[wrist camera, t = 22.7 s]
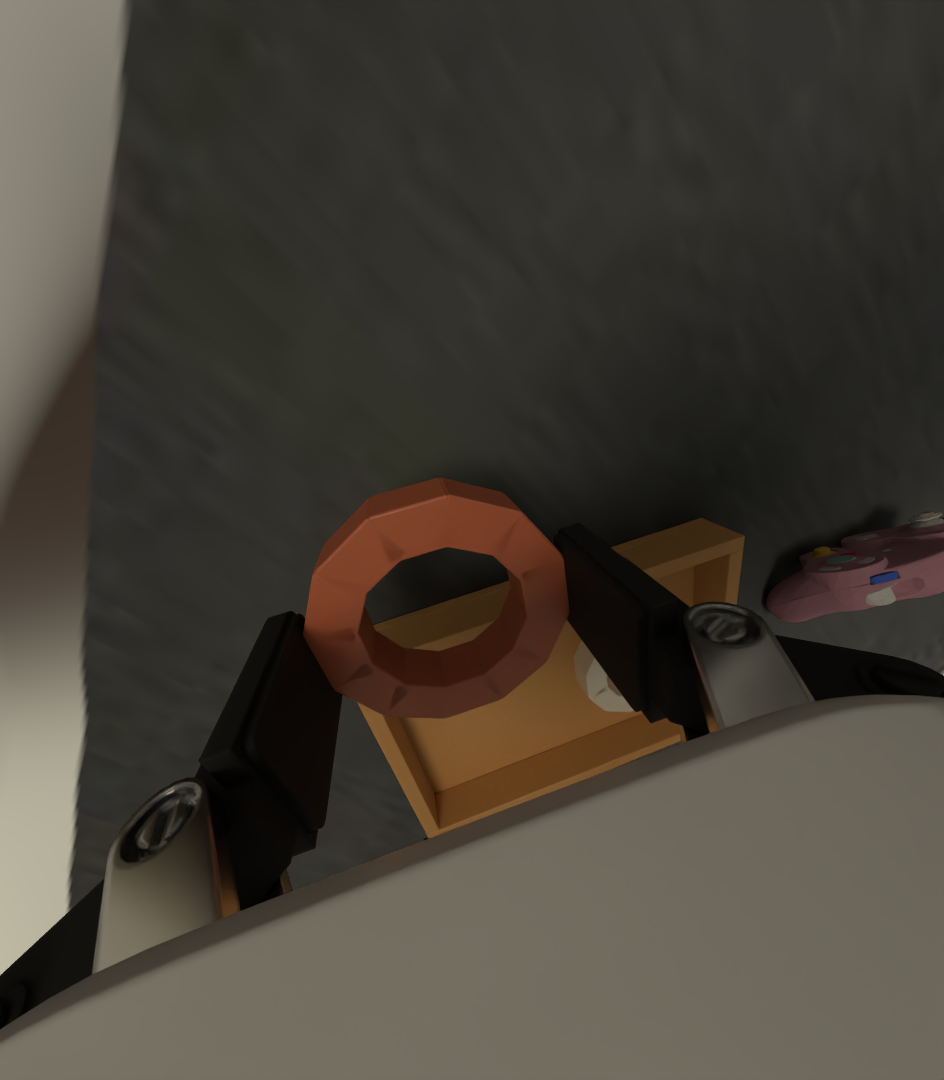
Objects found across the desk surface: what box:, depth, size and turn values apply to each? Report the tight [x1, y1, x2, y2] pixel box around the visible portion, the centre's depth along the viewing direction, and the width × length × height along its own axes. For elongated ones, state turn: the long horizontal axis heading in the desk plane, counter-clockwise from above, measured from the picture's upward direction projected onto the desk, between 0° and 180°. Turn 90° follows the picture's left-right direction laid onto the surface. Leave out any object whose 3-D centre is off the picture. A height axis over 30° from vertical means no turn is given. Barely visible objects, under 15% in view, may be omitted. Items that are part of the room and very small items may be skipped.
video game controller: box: [766, 512, 944, 623], centre depth 22 cm, size 10×5×7 cm, turn 106°
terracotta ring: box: [303, 477, 570, 719], centre depth 10 cm, size 7×7×2 cm
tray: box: [357, 518, 745, 838], centre depth 21 cm, size 15×21×3 cm
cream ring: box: [573, 640, 634, 712], centre depth 22 cm, size 7×7×2 cm
